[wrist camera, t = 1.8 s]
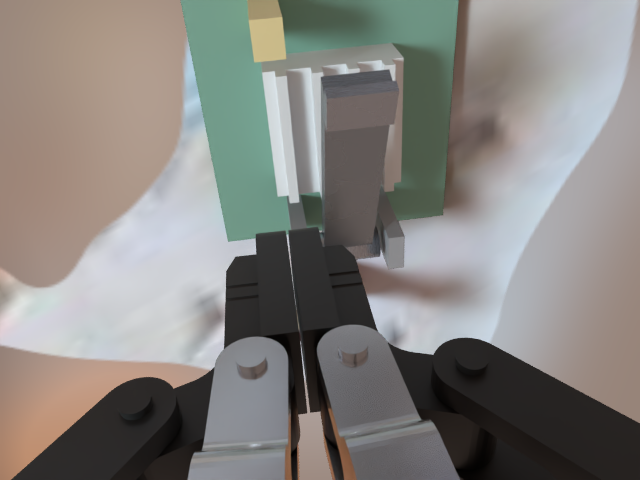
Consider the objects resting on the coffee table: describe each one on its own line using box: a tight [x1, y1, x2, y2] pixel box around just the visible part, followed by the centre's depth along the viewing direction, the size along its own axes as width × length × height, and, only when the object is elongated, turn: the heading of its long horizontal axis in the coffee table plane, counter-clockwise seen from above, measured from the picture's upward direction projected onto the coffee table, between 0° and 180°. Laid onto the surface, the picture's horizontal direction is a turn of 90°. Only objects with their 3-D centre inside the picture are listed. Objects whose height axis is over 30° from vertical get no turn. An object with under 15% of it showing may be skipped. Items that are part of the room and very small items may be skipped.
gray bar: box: [320, 69, 399, 260], centre depth 30 cm, size 16×4×2 cm, turn 3°
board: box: [181, 0, 458, 269], centre depth 34 cm, size 18×16×8 cm
